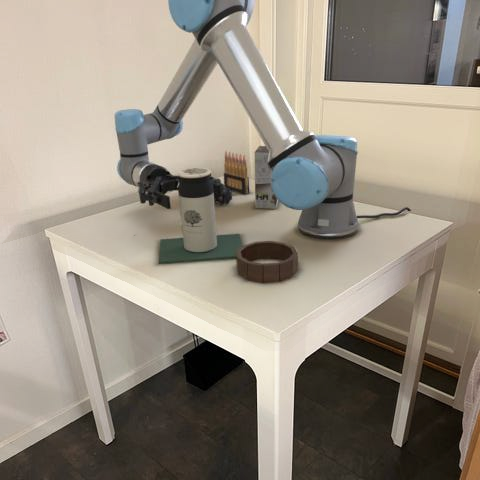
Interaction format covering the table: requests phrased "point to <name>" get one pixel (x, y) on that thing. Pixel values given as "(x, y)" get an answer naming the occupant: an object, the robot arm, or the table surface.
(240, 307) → the table surface
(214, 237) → the travel mug
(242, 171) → the ammunition clip
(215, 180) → the fruit
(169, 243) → the mat
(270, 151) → the robot arm
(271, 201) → the coffee box
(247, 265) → the holder
